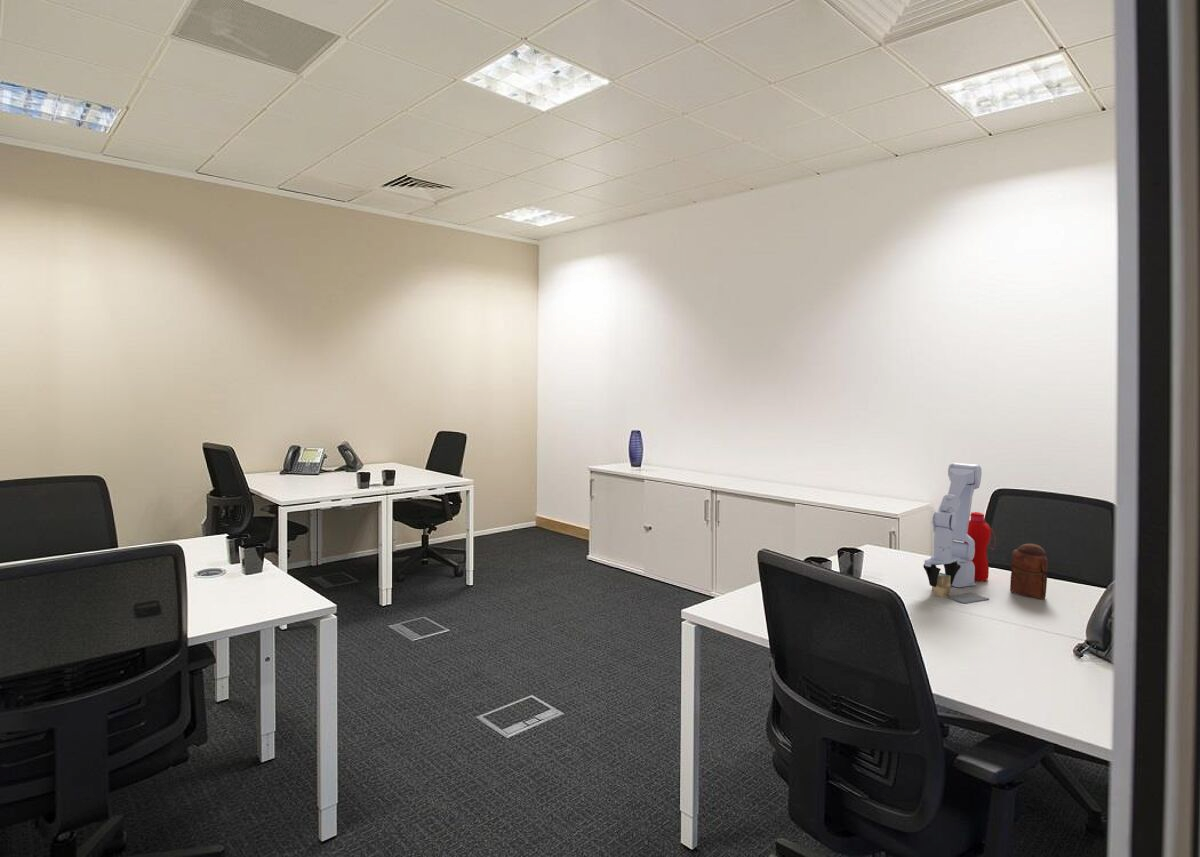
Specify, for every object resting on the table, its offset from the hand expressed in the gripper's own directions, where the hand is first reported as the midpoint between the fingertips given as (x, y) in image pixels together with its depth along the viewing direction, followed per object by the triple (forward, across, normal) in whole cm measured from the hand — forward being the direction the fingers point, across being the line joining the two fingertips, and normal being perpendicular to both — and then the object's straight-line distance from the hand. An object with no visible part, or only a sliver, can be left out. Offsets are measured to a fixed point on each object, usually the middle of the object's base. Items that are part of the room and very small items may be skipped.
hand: (940, 584), depth 234 cm
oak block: (+3, 0, 0) cm, 3 cm away
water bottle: (+3, -29, -9) cm, 31 cm away
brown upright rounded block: (+3, -29, +11) cm, 31 cm away
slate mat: (+3, -5, +6) cm, 9 cm away
